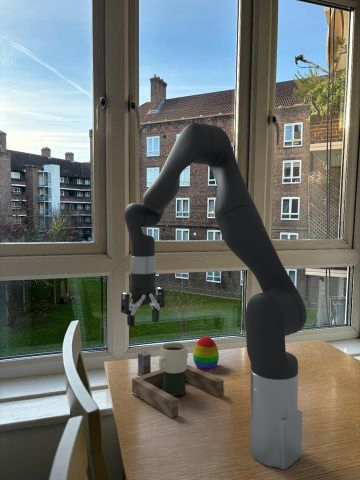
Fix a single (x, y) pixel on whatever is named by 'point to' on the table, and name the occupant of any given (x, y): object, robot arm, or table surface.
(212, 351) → the decorative egg
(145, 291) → the robot arm
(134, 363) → the table surface
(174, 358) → the character mug
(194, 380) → the frame
